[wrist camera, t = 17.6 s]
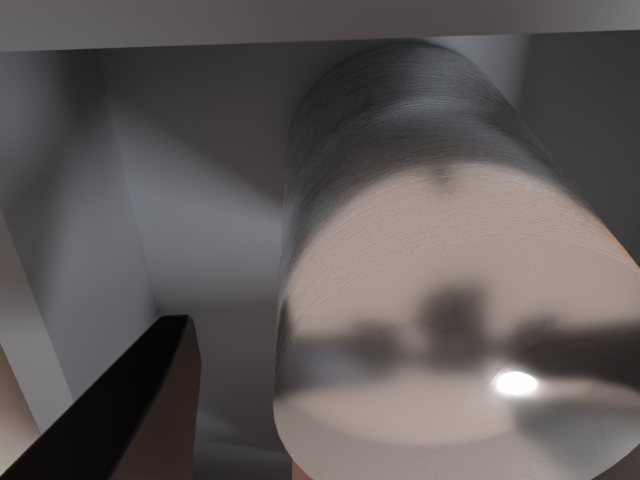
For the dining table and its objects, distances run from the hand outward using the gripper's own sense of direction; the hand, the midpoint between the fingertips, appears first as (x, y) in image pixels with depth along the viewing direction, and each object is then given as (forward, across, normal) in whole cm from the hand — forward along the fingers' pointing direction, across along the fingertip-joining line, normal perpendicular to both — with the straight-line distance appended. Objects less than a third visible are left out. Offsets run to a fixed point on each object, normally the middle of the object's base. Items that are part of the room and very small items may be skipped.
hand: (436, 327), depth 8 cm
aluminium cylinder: (+6, 0, 0) cm, 6 cm away
